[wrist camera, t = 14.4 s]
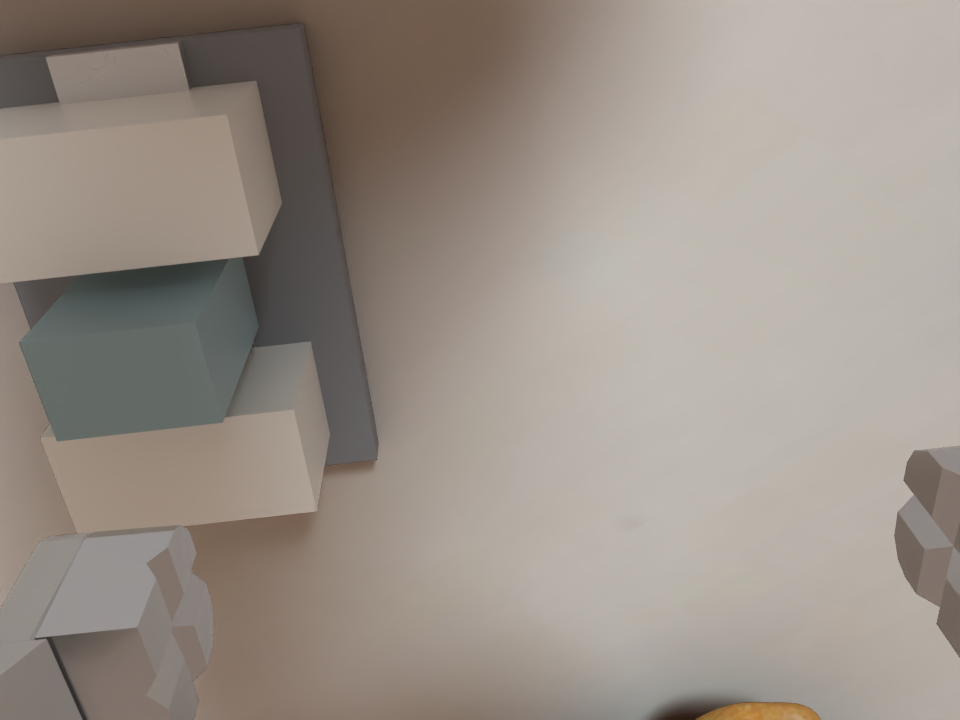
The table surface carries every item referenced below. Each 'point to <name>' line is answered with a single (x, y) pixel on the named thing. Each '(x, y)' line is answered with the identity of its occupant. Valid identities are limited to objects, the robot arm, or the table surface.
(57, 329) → the block
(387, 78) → the table surface
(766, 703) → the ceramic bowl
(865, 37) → the table surface
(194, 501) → the board
